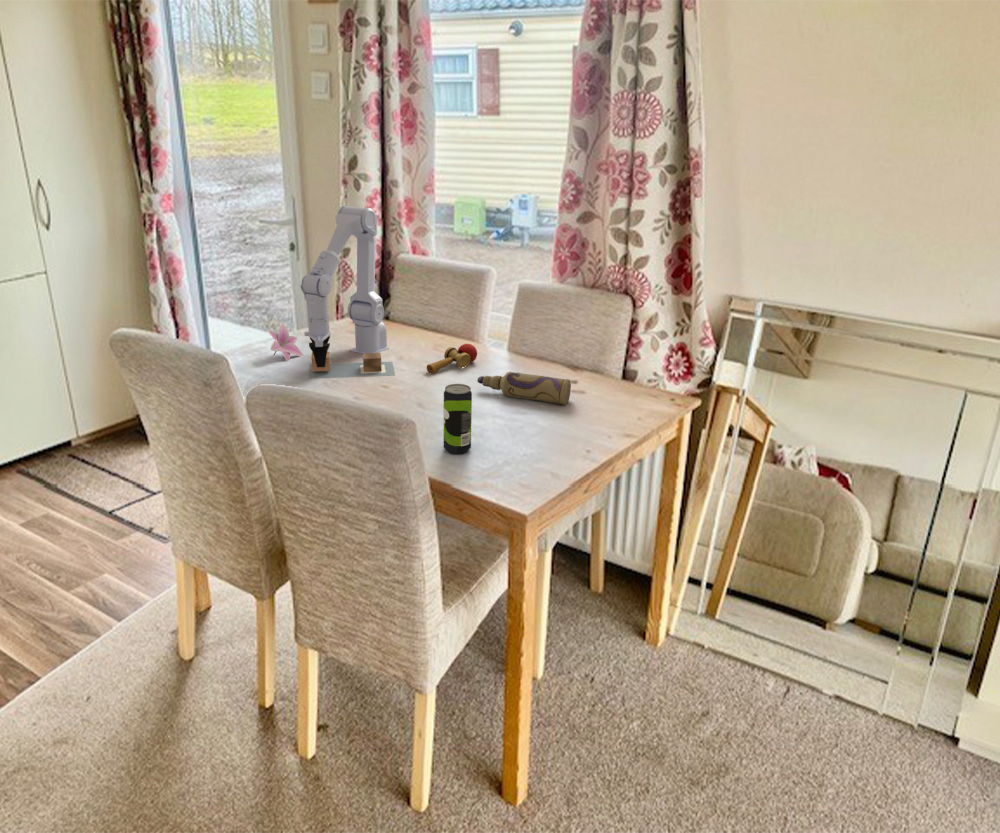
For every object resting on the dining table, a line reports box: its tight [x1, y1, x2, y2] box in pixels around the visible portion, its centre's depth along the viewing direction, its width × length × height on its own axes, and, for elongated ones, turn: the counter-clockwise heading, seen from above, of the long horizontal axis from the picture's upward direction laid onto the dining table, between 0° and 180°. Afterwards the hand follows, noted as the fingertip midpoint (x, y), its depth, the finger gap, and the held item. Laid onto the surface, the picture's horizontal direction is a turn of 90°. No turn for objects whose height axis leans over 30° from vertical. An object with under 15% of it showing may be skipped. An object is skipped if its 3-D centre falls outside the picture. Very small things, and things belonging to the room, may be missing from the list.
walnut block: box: [362, 352, 382, 372], centre depth 225 cm, size 5×5×4 cm
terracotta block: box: [310, 351, 331, 372], centre depth 222 cm, size 5×5×4 cm
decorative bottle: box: [476, 371, 572, 406], centre depth 209 cm, size 26×8×7 cm, turn 70°
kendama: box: [426, 343, 478, 375], centre depth 230 cm, size 8×6×18 cm
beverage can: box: [443, 383, 473, 455], centre depth 175 cm, size 6×6×15 cm
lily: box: [267, 321, 304, 362], centre depth 232 cm, size 12×12×10 cm
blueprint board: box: [308, 361, 396, 380], centre depth 224 cm, size 24×12×1 cm, turn 101°
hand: (321, 363), depth 222 cm, fingers closed on terracotta block, 5 cm apart
